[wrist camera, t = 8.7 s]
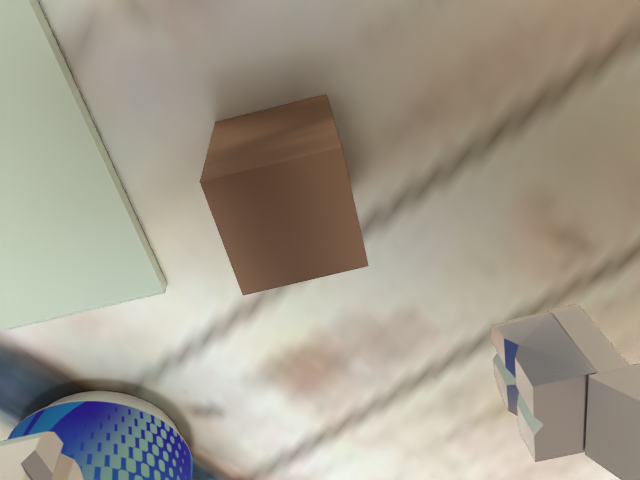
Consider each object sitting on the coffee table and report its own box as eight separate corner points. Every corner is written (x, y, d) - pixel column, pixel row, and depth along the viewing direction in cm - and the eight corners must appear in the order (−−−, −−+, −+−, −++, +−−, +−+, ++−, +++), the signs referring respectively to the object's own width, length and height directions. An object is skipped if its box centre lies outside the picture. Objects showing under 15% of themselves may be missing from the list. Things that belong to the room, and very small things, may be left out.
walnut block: (326, 94, 20) (342, 146, 15) (348, 194, 22) (368, 266, 17) (215, 121, 20) (199, 182, 15) (248, 218, 22) (243, 295, 17)
